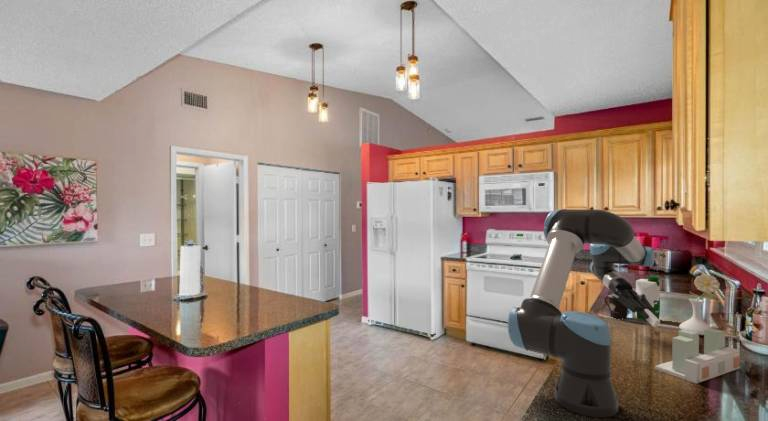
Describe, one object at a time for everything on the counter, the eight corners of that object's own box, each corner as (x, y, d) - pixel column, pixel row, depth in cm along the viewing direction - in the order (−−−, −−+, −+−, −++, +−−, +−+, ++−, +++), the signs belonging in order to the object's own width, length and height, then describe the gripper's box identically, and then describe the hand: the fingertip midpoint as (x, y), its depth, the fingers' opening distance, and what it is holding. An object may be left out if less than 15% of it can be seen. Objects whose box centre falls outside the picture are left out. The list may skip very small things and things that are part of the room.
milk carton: (656, 322, 172) (656, 278, 172) (633, 318, 179) (633, 276, 179) (662, 319, 178) (662, 276, 178) (639, 314, 185) (639, 273, 185)
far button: (718, 363, 124) (718, 333, 124) (704, 359, 128) (704, 329, 128) (725, 361, 126) (725, 331, 126) (710, 357, 129) (710, 328, 129)
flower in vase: (675, 332, 159) (675, 273, 158) (683, 327, 166) (683, 269, 166) (716, 341, 148) (717, 277, 148) (722, 334, 156) (722, 273, 156)
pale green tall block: (686, 374, 117) (686, 341, 116) (672, 369, 120) (672, 337, 120) (694, 371, 118) (694, 339, 118) (679, 366, 122) (679, 335, 122)
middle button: (691, 365, 123) (691, 334, 123) (678, 360, 127) (678, 330, 127) (698, 362, 125) (698, 332, 125) (684, 358, 128) (685, 329, 128)
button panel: (696, 383, 113) (696, 363, 113) (655, 368, 123) (655, 350, 123) (739, 368, 123) (739, 350, 123) (698, 355, 134) (698, 338, 134)
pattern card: (702, 382, 113) (702, 365, 113) (699, 381, 114) (699, 364, 114) (740, 368, 122) (740, 353, 122) (737, 367, 123) (737, 352, 123)
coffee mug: (632, 320, 175) (632, 299, 175) (612, 319, 177) (612, 298, 177) (622, 314, 186) (622, 293, 186) (603, 313, 188) (603, 292, 188)
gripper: (629, 294, 157) (669, 333, 135) (599, 291, 156) (635, 330, 134) (636, 278, 154) (678, 317, 132) (605, 275, 153) (643, 313, 131)
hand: (656, 323), depth 133 cm, fingers closed
